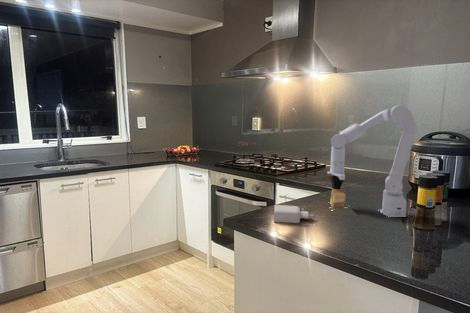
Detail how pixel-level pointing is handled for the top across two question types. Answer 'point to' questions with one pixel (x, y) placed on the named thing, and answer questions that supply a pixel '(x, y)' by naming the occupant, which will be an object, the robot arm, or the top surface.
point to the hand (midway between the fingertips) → (336, 192)
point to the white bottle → (289, 214)
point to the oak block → (337, 198)
